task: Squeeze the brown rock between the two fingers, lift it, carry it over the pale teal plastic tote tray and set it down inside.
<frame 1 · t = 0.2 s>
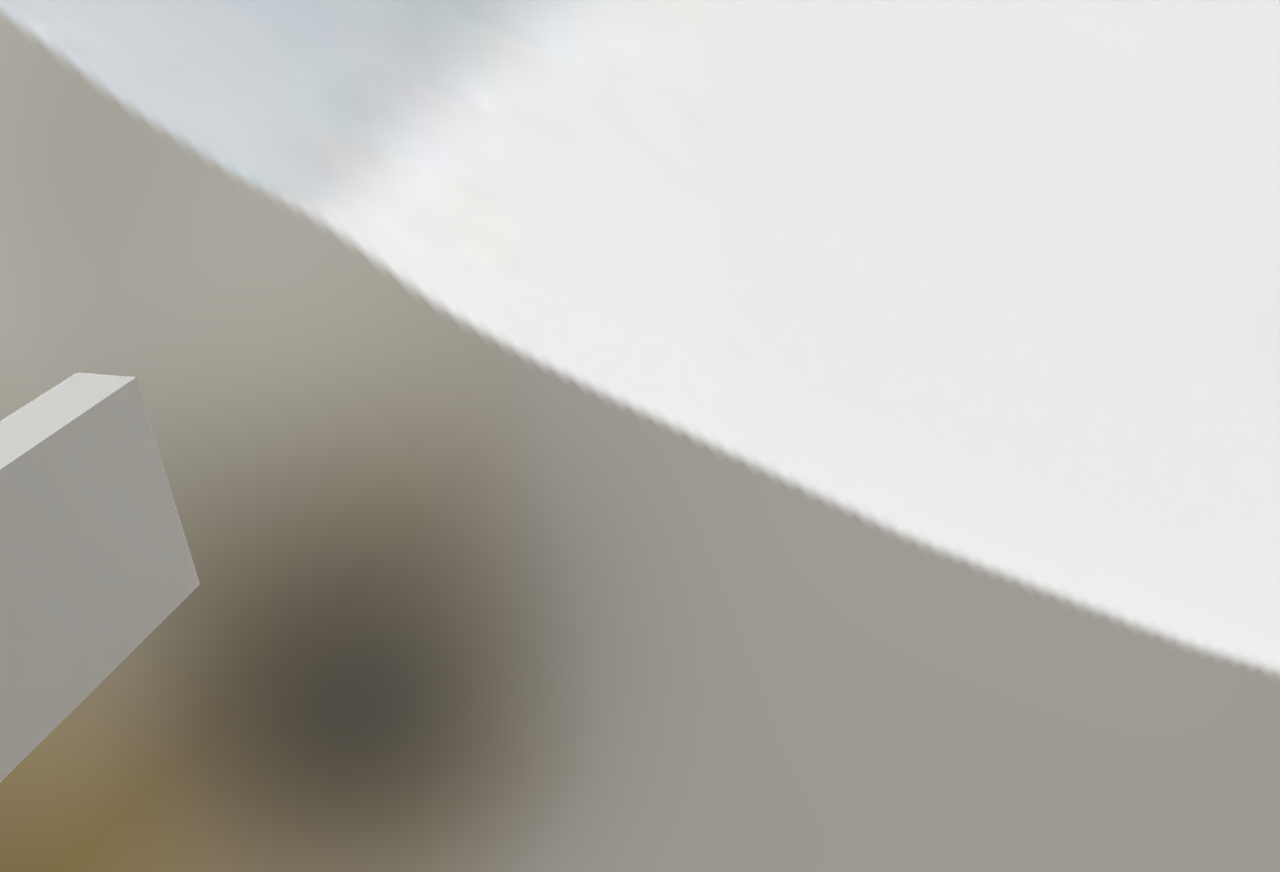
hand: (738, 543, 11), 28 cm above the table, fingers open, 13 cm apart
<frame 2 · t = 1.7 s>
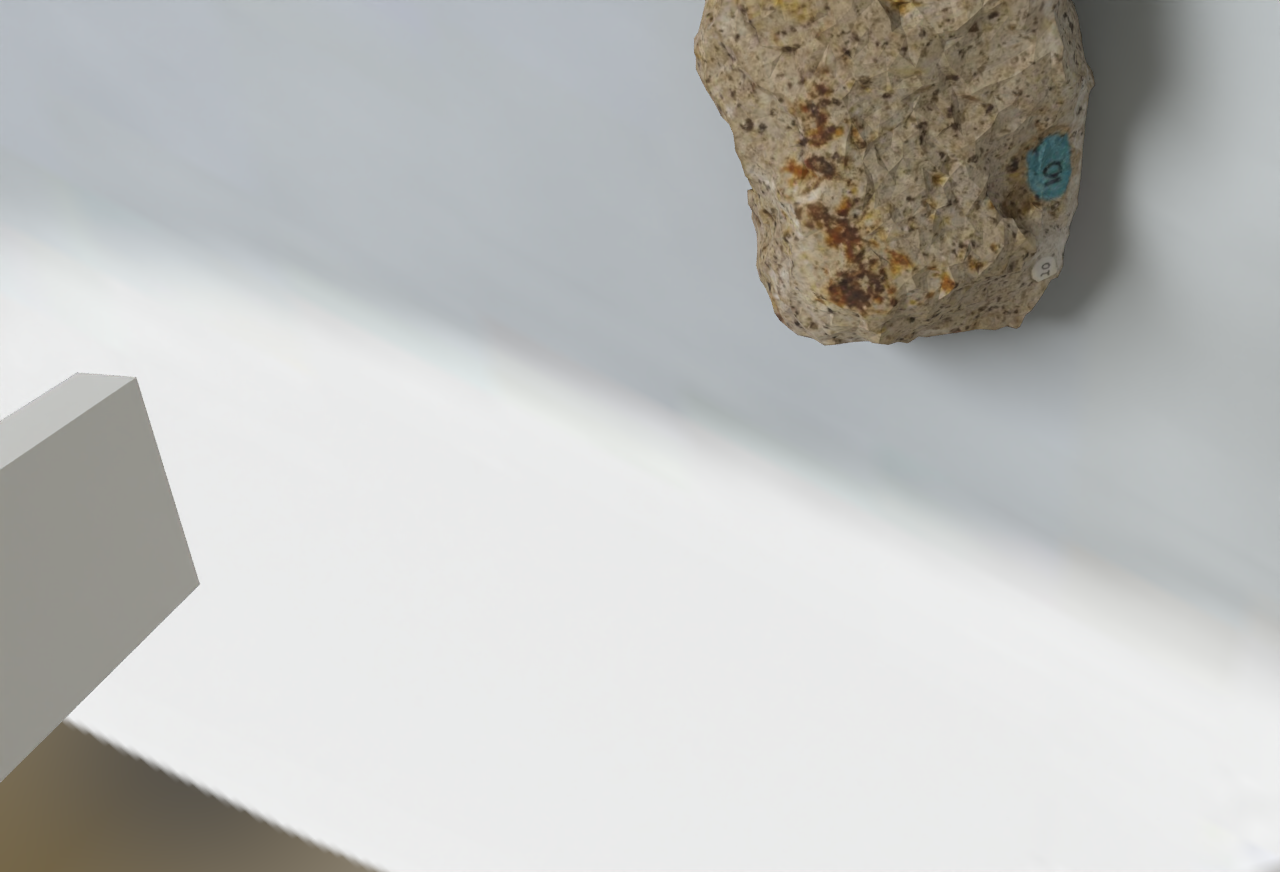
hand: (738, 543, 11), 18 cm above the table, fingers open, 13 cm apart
rock: (910, 91, 26), on the table
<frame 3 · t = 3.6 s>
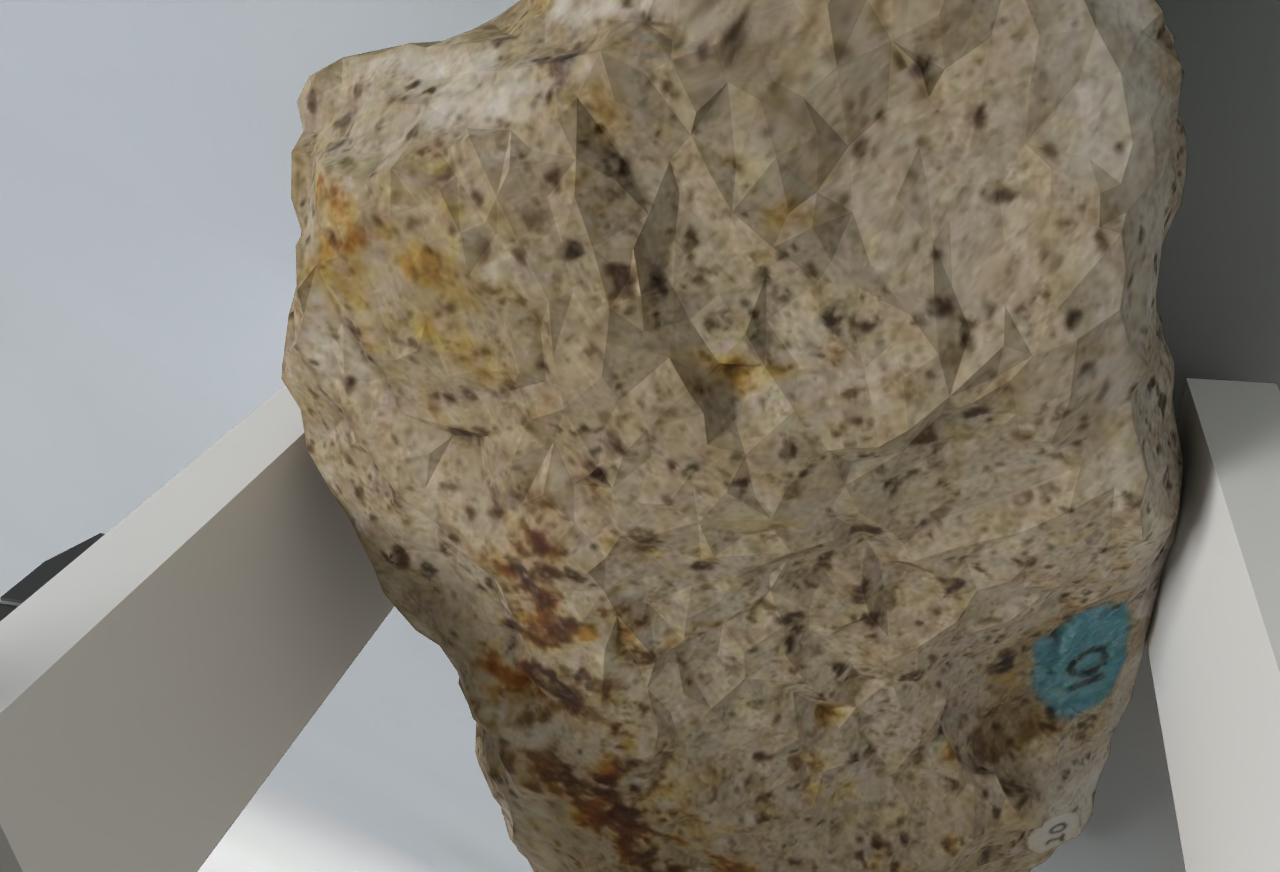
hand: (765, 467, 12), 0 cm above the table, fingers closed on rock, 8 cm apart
rock: (802, 411, 13), on the table, touching gripper
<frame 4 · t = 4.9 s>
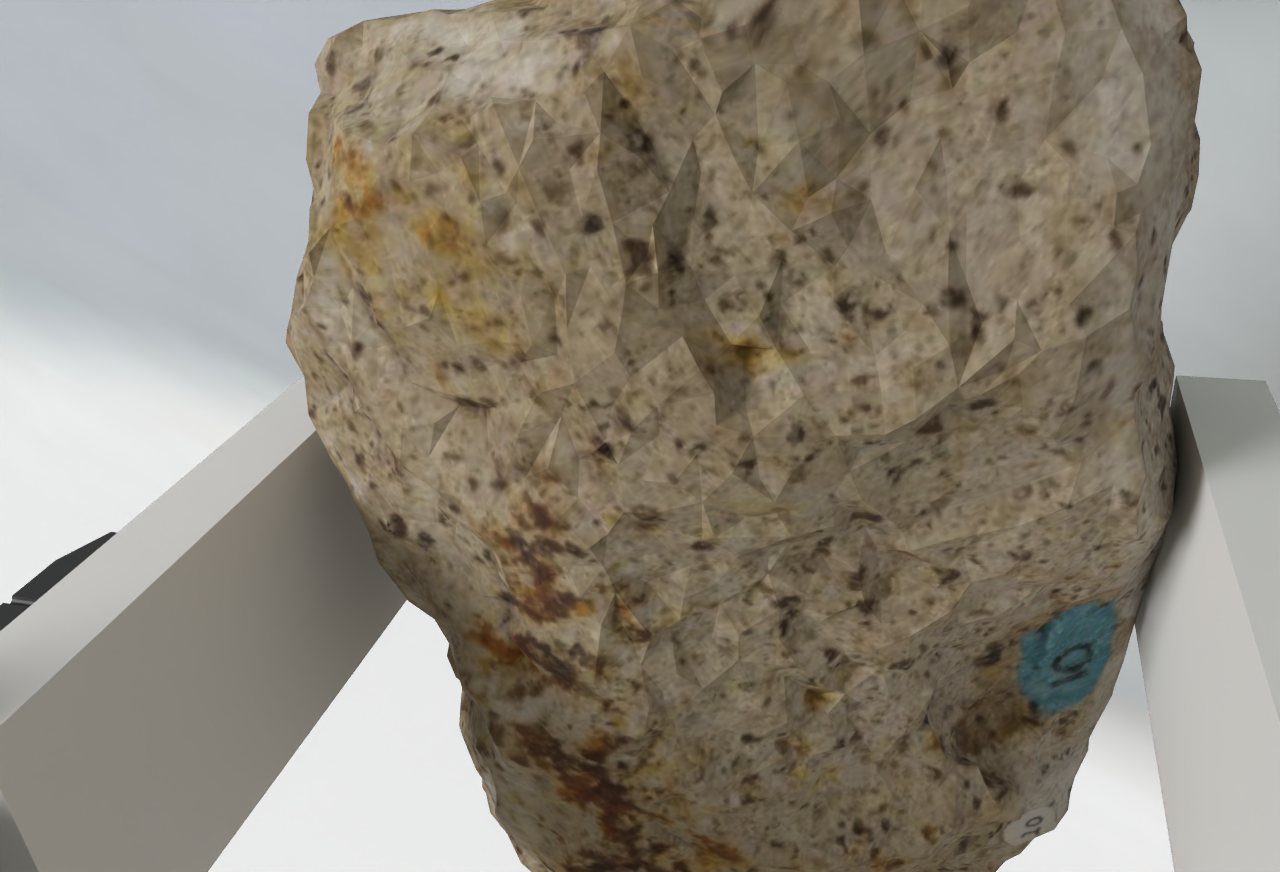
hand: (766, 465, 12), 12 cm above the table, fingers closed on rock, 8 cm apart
rock: (799, 400, 13), point 11 cm above the table, touching gripper
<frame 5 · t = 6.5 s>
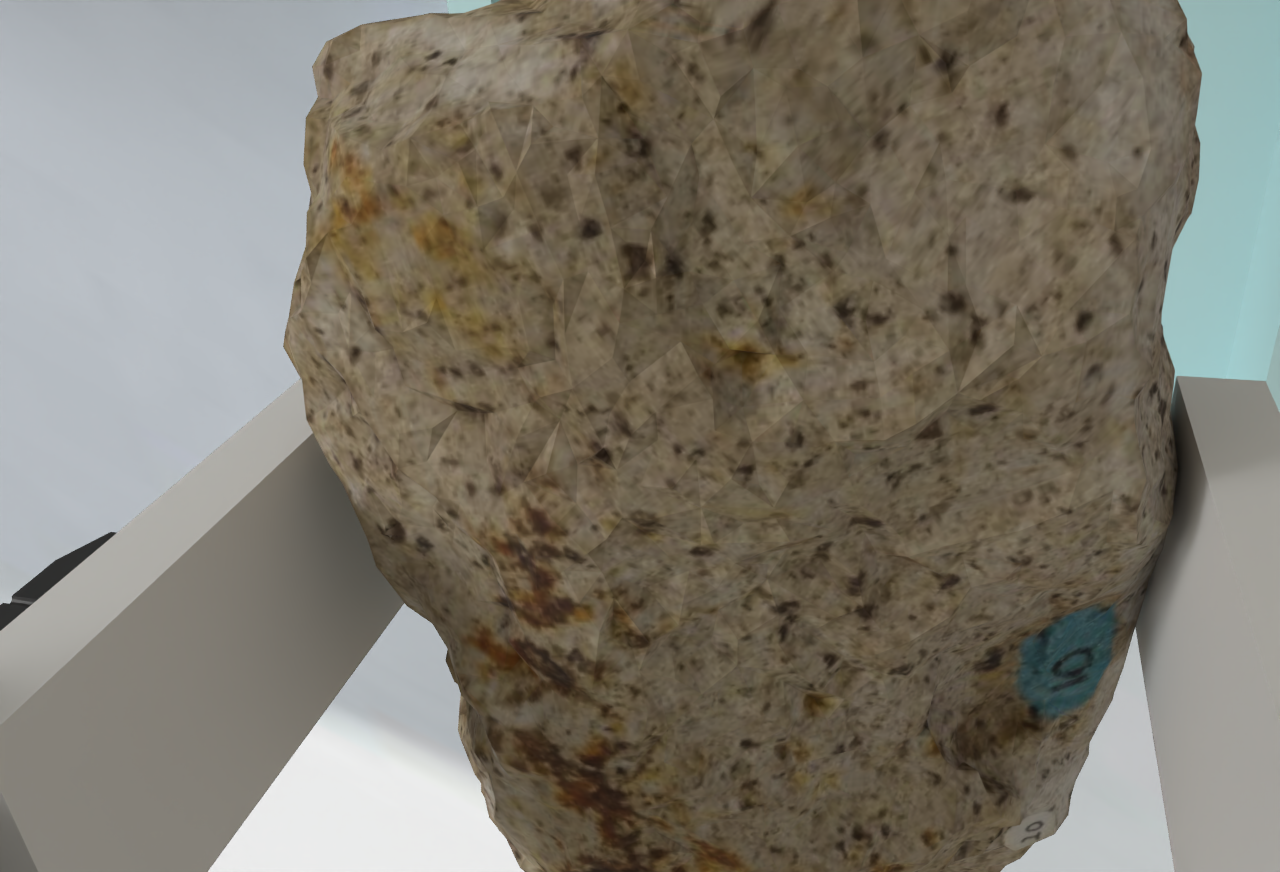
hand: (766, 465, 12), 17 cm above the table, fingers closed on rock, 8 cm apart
rock: (798, 403, 13), point 16 cm above the table, touching gripper
tray: (891, 101, 26), on the table
when the fingers open (4 cm above the table, at t = 8.7 s): rock drops 3 cm, resting on tray.
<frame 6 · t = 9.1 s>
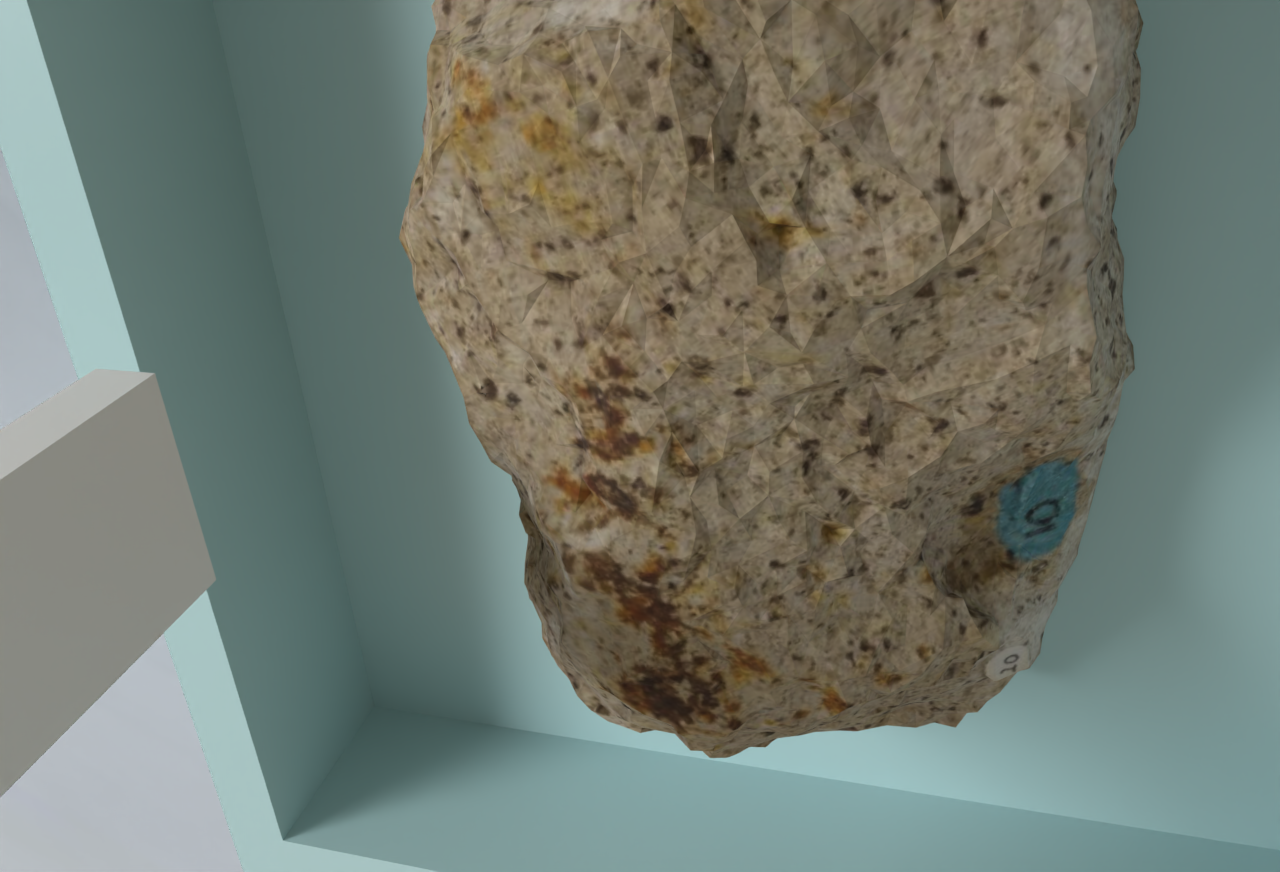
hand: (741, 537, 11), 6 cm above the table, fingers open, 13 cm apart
rock: (814, 309, 15), point 1 cm above the table, touching tray
tray: (818, 314, 16), on the table
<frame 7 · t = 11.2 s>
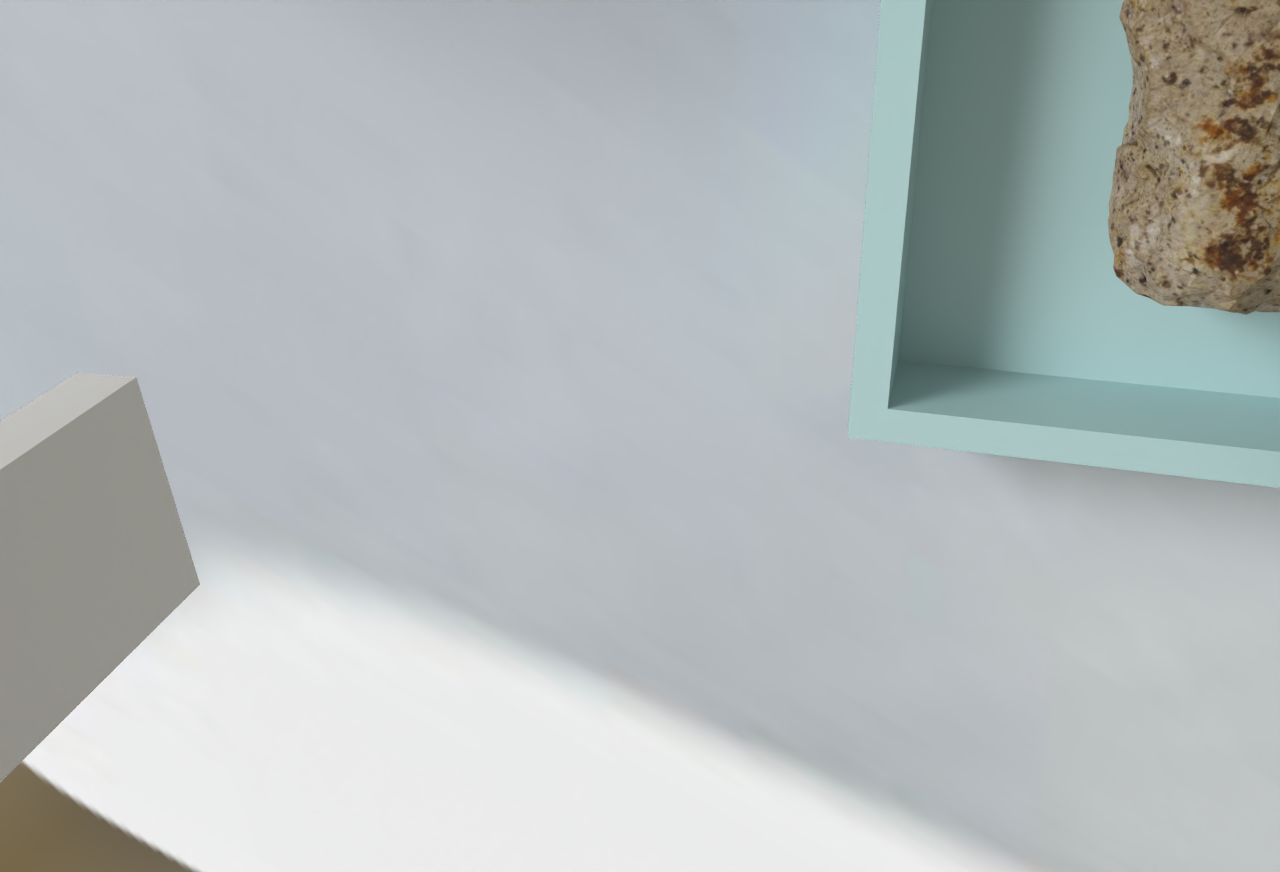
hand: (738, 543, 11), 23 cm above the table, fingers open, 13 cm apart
tray: (1262, 82, 28), on the table
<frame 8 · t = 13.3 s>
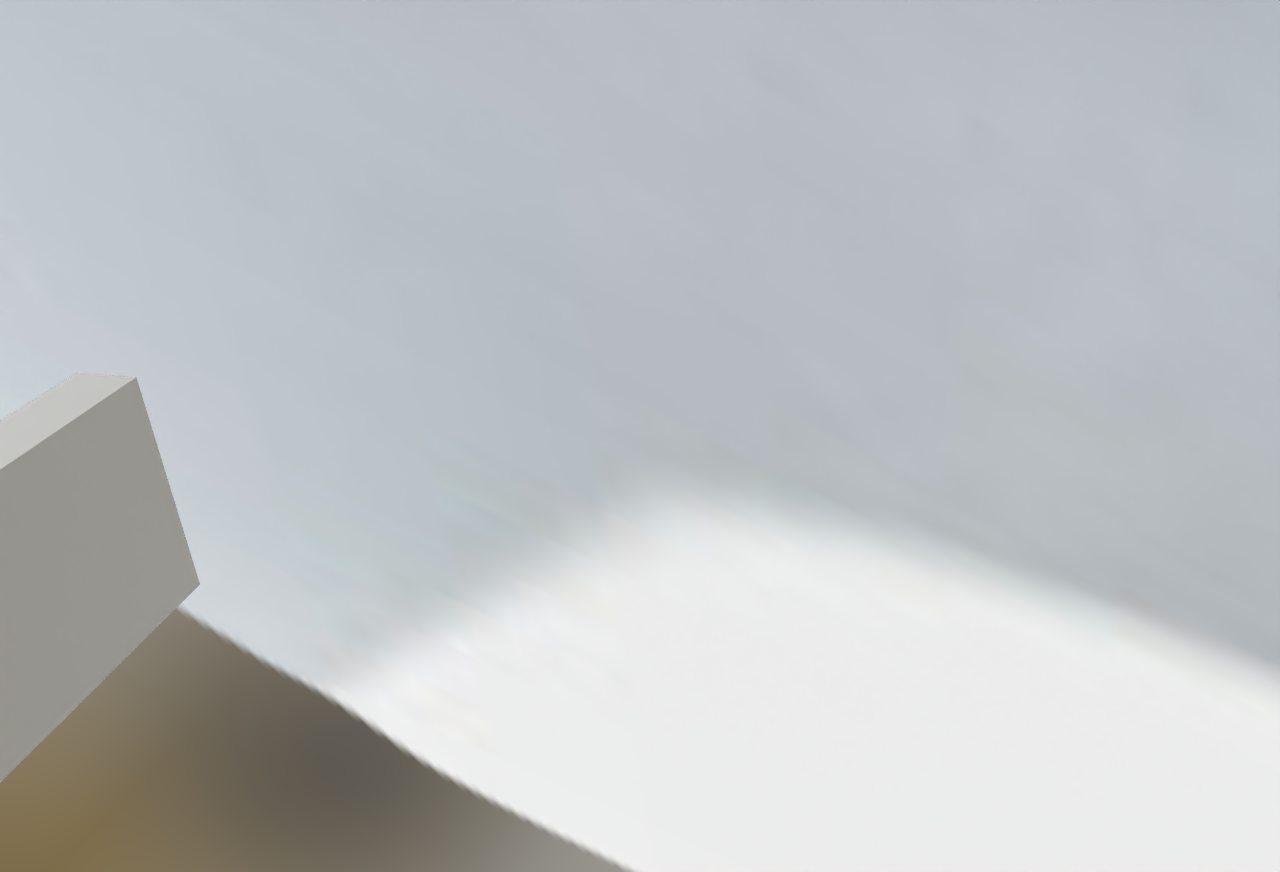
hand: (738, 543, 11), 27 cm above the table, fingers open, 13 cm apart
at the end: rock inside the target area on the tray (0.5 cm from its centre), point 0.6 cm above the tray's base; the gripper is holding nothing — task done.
